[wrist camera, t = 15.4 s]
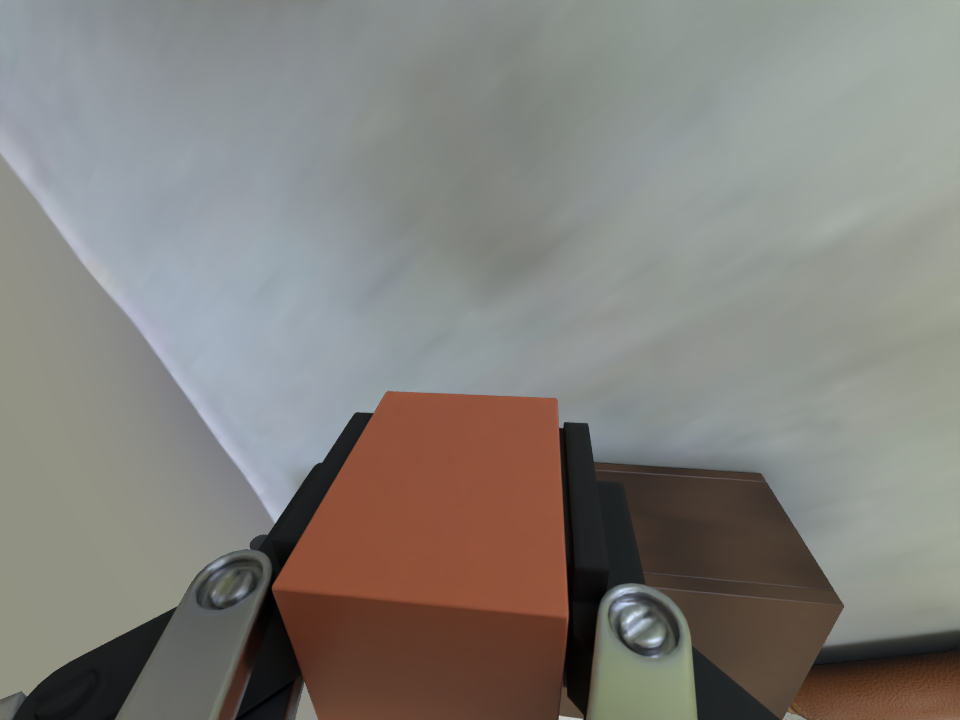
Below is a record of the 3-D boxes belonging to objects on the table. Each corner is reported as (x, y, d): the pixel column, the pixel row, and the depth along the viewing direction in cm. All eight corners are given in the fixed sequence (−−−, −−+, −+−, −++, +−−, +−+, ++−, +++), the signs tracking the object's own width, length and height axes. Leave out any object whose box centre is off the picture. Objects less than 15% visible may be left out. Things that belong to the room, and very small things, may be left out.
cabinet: (525, 582, 36) (520, 711, 28) (531, 457, 31) (527, 575, 23) (717, 601, 35) (769, 743, 27) (761, 473, 29) (845, 606, 21)
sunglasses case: (787, 719, 40) (815, 784, 33) (755, 636, 40) (777, 684, 34) (1048, 694, 34) (1142, 766, 28) (1004, 599, 35) (1085, 648, 29)
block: (403, 514, 13) (323, 738, 8) (386, 390, 11) (269, 587, 6) (550, 525, 12) (554, 770, 7) (557, 397, 10) (568, 617, 6)
